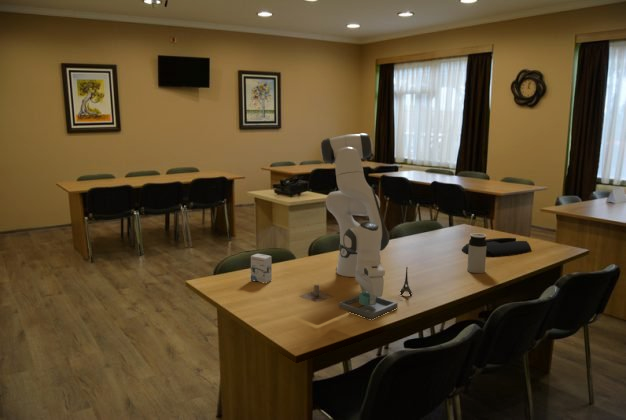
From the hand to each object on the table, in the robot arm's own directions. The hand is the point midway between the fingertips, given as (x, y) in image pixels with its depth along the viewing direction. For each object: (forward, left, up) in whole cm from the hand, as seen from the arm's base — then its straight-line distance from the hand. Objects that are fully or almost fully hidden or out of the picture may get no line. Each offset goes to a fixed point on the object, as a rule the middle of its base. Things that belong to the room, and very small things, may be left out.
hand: (367, 300), depth 188 cm
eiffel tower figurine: (-24, +1, -4) cm, 25 cm away
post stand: (+6, -22, -4) cm, 23 cm away
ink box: (+8, -55, -4) cm, 56 cm away
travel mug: (-74, +7, -4) cm, 75 cm away
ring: (0, 0, -1) cm, 1 cm away
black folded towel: (-119, -4, -4) cm, 119 cm away
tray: (0, 0, -4) cm, 4 cm away
